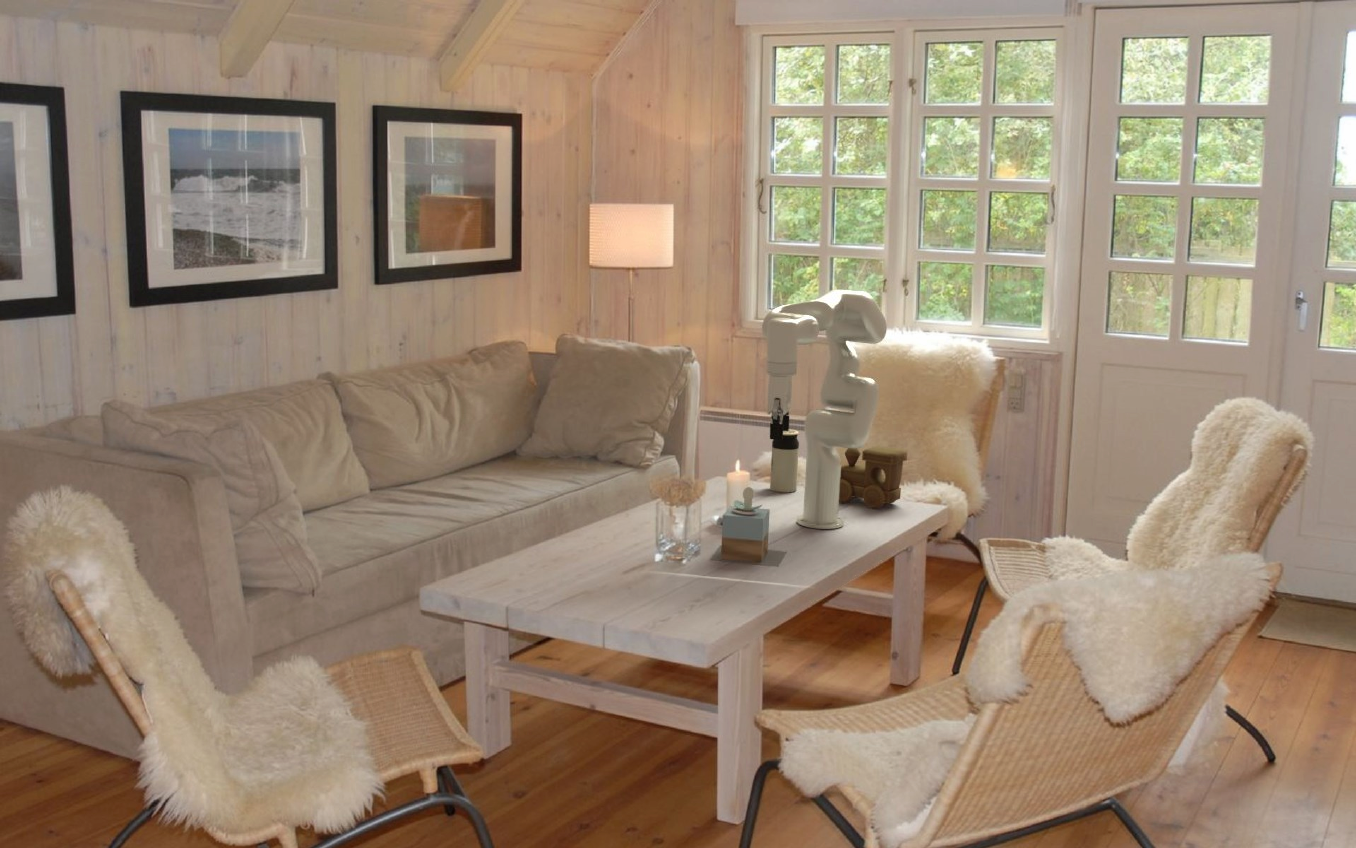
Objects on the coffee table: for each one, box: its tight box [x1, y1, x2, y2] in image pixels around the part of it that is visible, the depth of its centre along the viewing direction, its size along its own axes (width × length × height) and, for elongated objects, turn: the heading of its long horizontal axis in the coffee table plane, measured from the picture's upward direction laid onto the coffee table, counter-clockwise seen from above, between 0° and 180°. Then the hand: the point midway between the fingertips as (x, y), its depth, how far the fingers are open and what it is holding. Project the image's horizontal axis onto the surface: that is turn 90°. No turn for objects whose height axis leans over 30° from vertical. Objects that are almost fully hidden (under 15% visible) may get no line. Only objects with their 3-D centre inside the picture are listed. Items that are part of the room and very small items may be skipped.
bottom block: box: [721, 530, 770, 563], centre depth 347 cm, size 10×10×6 cm
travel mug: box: [769, 428, 800, 494], centre depth 421 cm, size 8×8×18 cm
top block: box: [721, 505, 771, 541], centre depth 346 cm, size 10×10×6 cm
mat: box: [709, 544, 787, 568], centre depth 348 cm, size 14×17×1 cm
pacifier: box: [732, 486, 763, 515], centre depth 345 cm, size 7×6×6 cm
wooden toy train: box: [839, 446, 908, 510], centre depth 408 cm, size 20×11×17 cm, turn 55°
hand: (779, 434), depth 353 cm, fingers open, 9 cm apart
